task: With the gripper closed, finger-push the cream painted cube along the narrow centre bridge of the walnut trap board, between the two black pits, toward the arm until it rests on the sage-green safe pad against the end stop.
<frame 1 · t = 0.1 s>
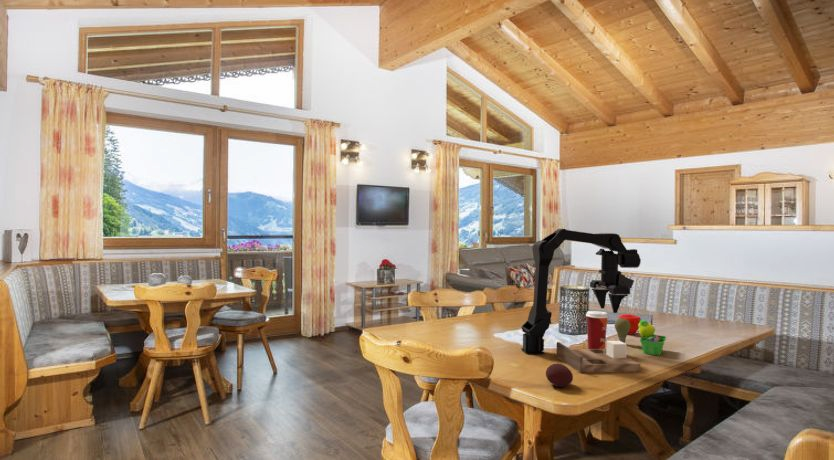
hand: (608, 310, 176), 15 cm above the table, fingers open, 9 cm apart
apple: (629, 334, 205), on the table
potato: (559, 385, 138), on the table
paper cup: (596, 351, 176), on the table
block: (616, 355, 160), point 2 cm above the table, touching trap board
fruit basket: (651, 352, 176), on the table
light bulb: (621, 344, 187), on the table
trap board: (597, 363, 160), on the table
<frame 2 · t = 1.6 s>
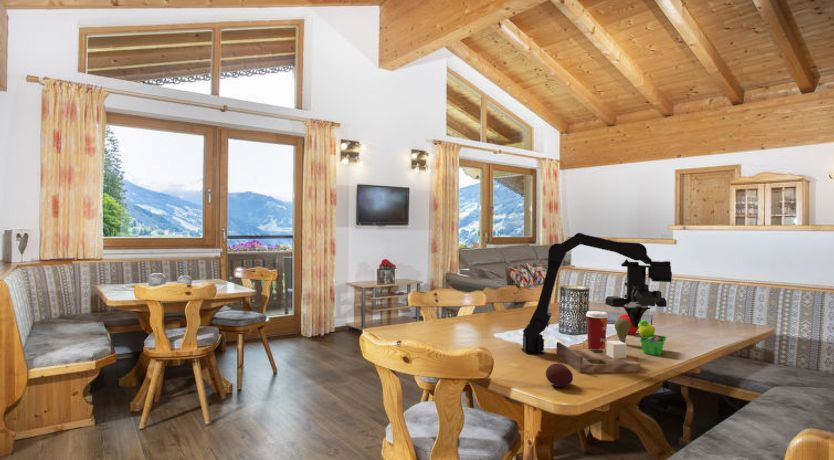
hand: (635, 327, 161), 12 cm above the table, fingers closed
nothing on the table moved.
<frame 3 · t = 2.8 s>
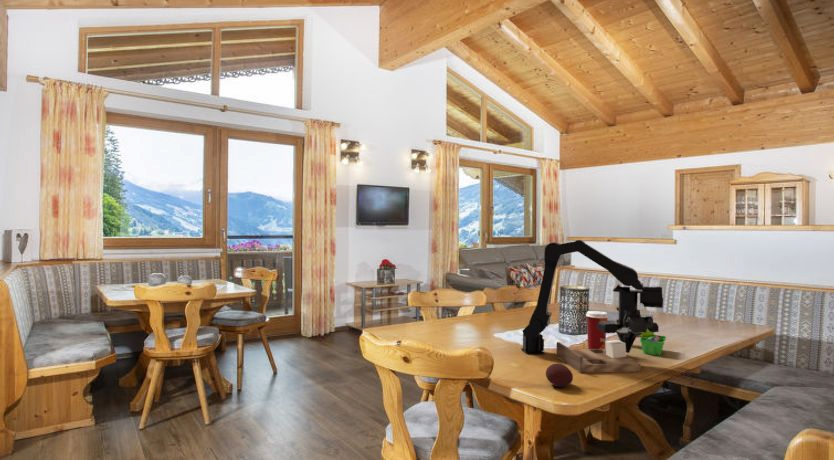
hand: (627, 352, 161), 3 cm above the table, fingers closed
block: (615, 355, 160), point 3 cm above the table, touching gripper, trap board
everything else where it was.
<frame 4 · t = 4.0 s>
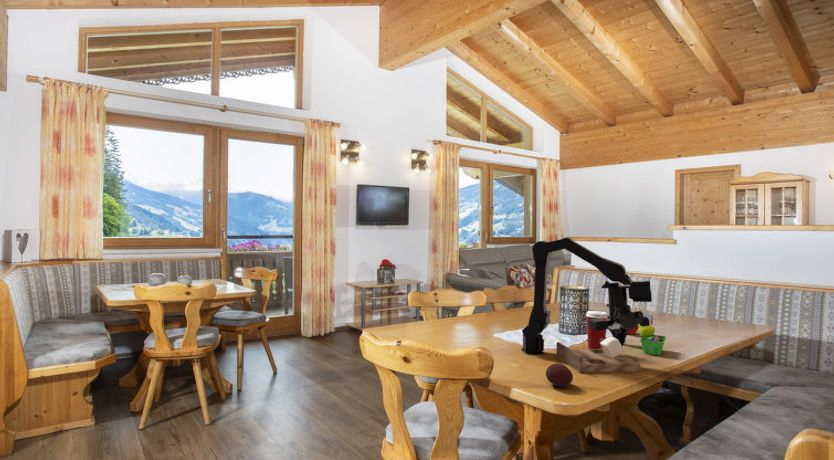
hand: (620, 348, 160), 5 cm above the table, fingers closed, pressing on block
block: (615, 352, 160), point 4 cm above the table, tilted 31°, touching gripper, trap board
everything else where it was.
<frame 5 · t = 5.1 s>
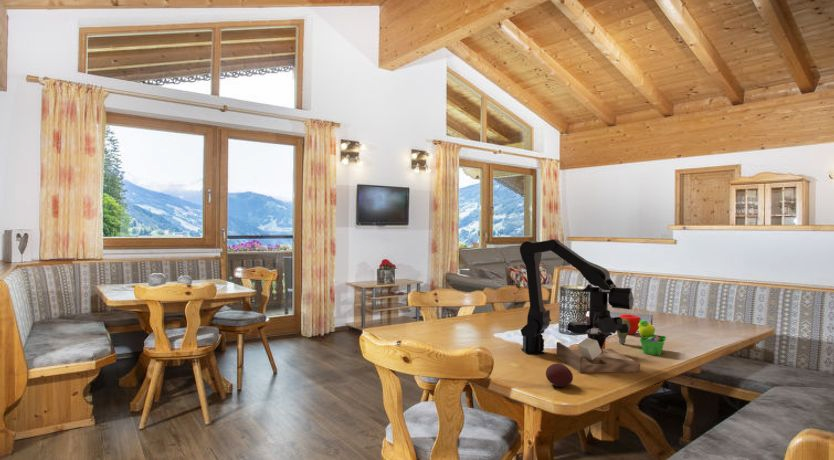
hand: (597, 353, 160), 3 cm above the table, fingers closed
block: (592, 354, 158), point 4 cm above the table, tilted 29°, touching gripper
everything else where it was.
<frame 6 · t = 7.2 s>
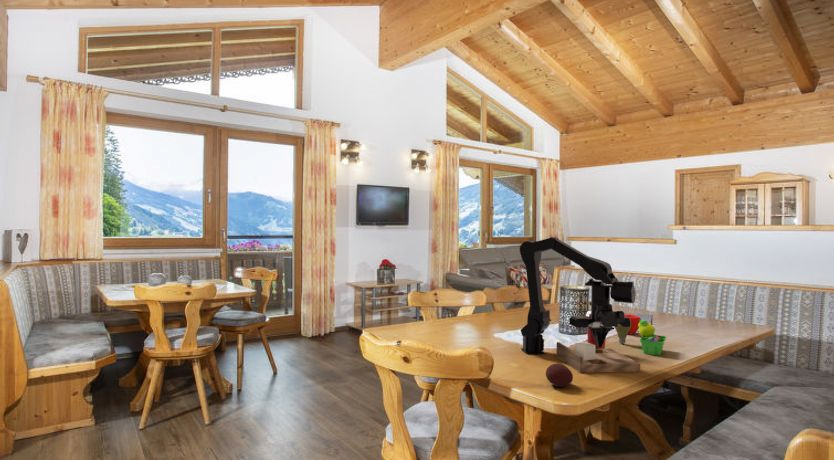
hand: (599, 347, 159), 5 cm above the table, fingers closed
block: (584, 358, 157), point 2 cm above the table, touching trap board
everything else where it was.
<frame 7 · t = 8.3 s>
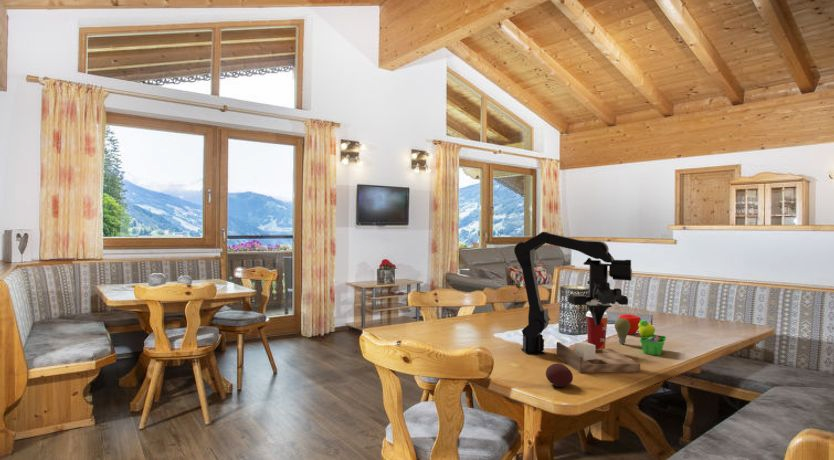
hand: (597, 325, 163), 12 cm above the table, fingers closed
nothing on the table moved.
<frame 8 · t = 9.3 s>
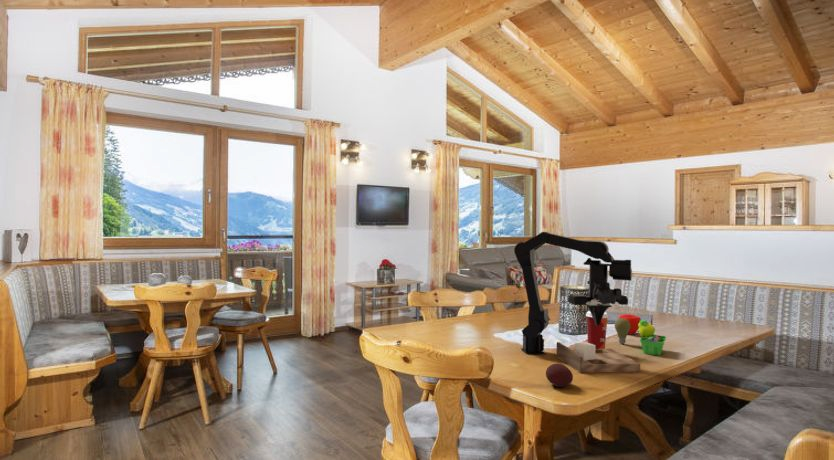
hand: (597, 325, 163), 12 cm above the table, fingers closed
nothing on the table moved.
at the end: block 2.1 cm from the target spot on the trap board, point 2.4 cm above the trap board's base; block tilted 0° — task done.
